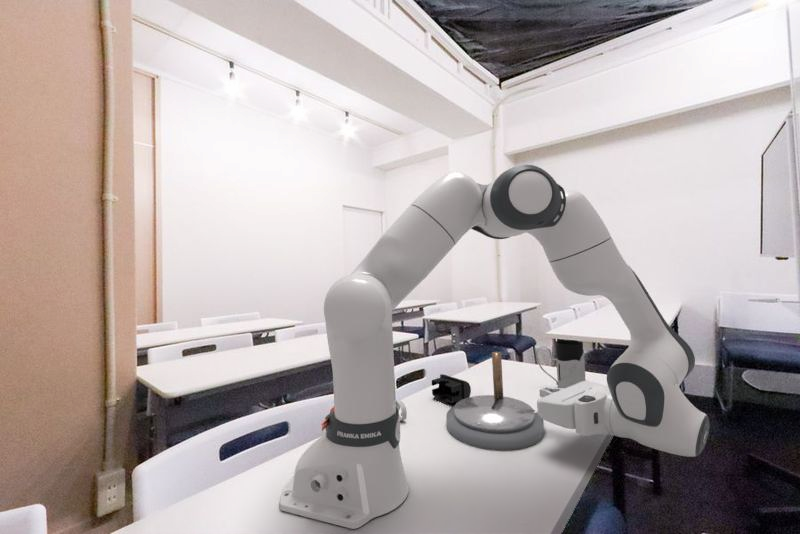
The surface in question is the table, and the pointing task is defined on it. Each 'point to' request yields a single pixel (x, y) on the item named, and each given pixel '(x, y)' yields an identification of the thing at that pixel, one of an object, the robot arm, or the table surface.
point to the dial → (494, 408)
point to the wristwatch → (403, 409)
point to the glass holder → (568, 363)
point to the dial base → (496, 435)
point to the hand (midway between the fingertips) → (543, 391)
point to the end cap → (450, 390)
